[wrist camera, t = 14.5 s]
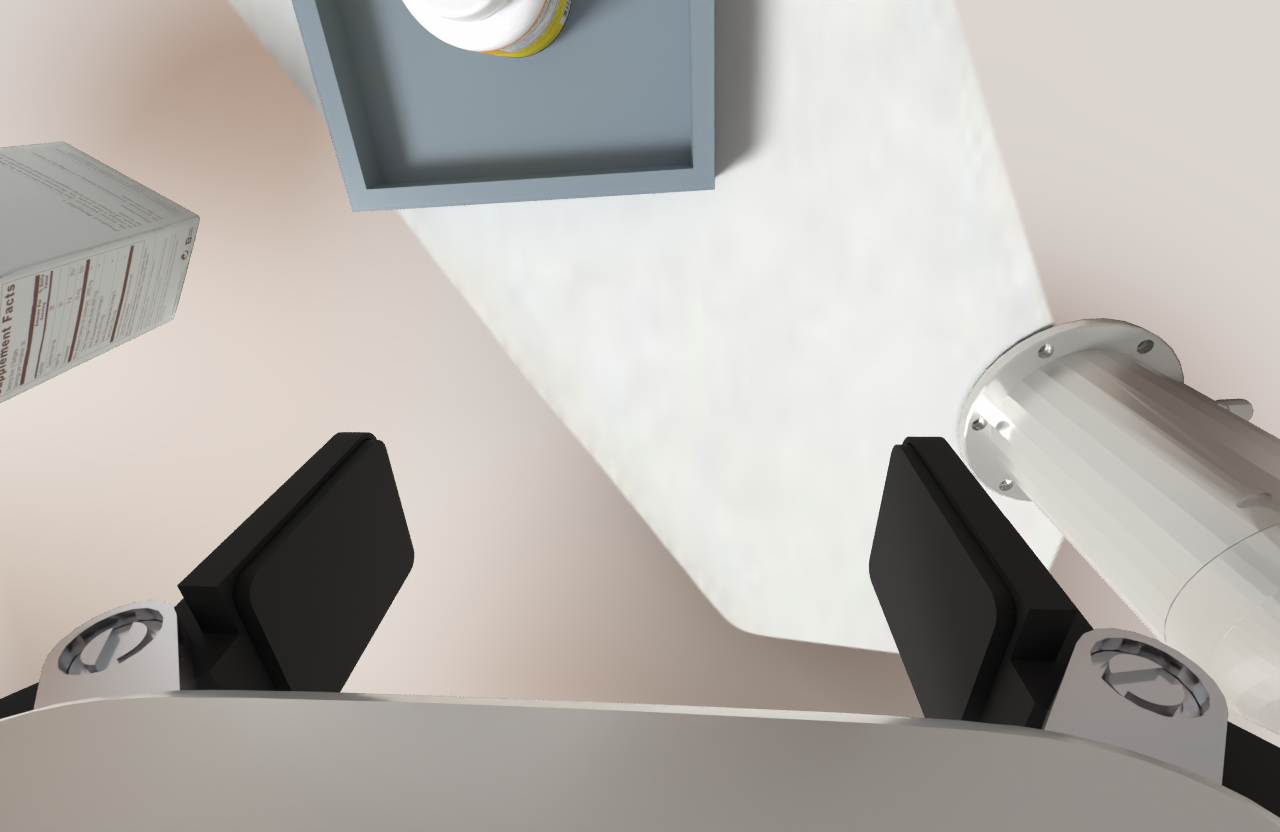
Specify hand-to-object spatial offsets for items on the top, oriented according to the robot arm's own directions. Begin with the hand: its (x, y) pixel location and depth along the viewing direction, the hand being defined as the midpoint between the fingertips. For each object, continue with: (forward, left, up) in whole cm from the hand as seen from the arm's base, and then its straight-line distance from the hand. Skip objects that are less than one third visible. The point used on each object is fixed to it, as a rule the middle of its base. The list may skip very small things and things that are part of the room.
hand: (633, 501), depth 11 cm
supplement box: (+30, -1, -25) cm, 39 cm away
